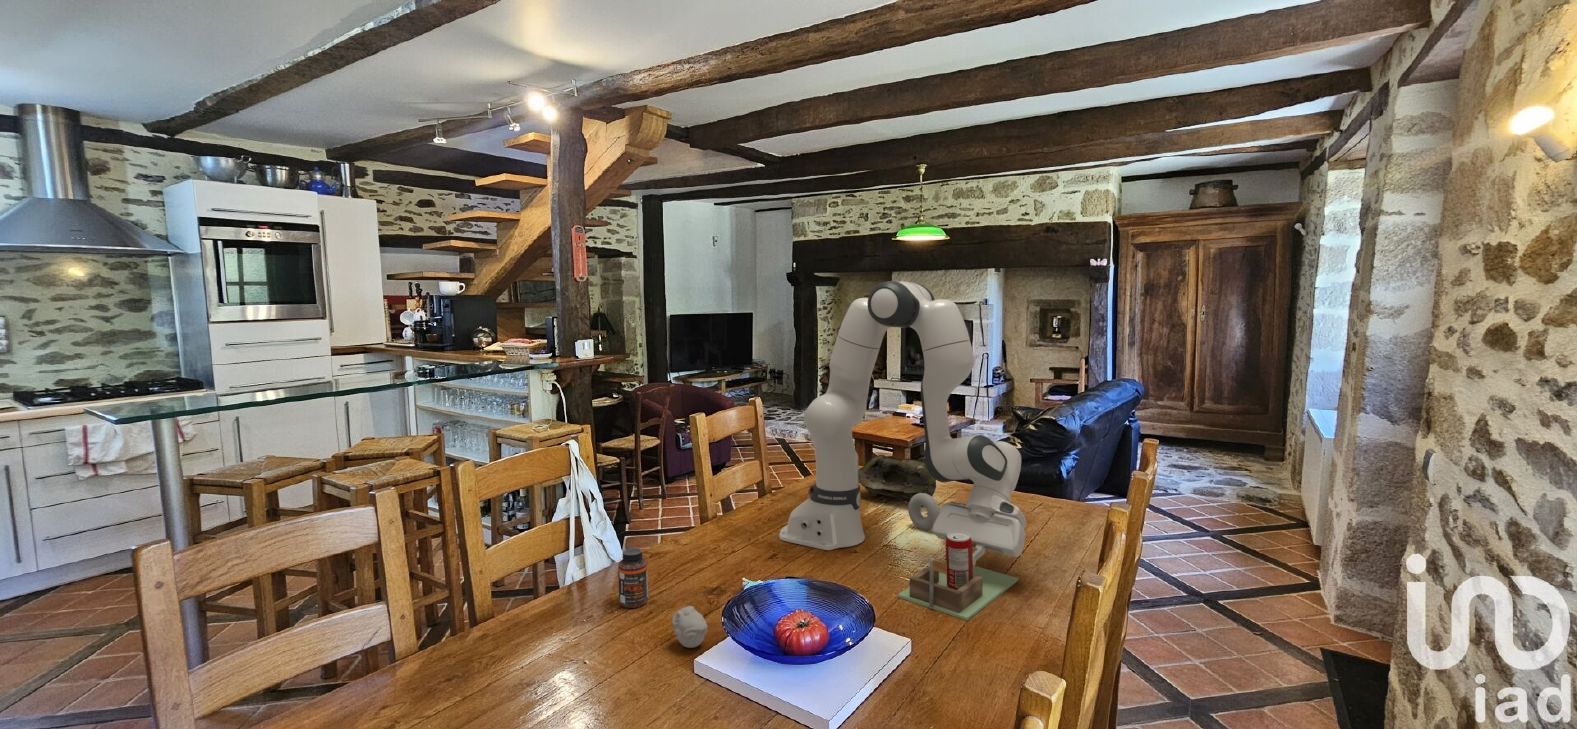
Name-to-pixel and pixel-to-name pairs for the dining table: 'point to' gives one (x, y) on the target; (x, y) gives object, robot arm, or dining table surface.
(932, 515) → the donut
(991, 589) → the felt mat
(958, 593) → the pocket
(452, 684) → the dining table surface
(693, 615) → the frog figurine
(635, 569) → the supplement bottle
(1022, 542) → the robot arm
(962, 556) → the soda can
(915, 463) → the hollow geode rock
